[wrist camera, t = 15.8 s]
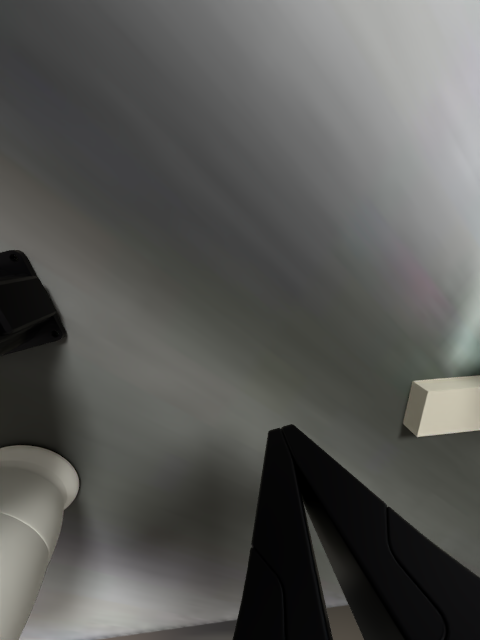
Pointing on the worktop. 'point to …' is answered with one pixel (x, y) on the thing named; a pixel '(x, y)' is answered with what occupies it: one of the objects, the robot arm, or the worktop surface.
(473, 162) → the worktop surface
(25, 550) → the jar
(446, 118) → the worktop surface
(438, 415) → the domino
